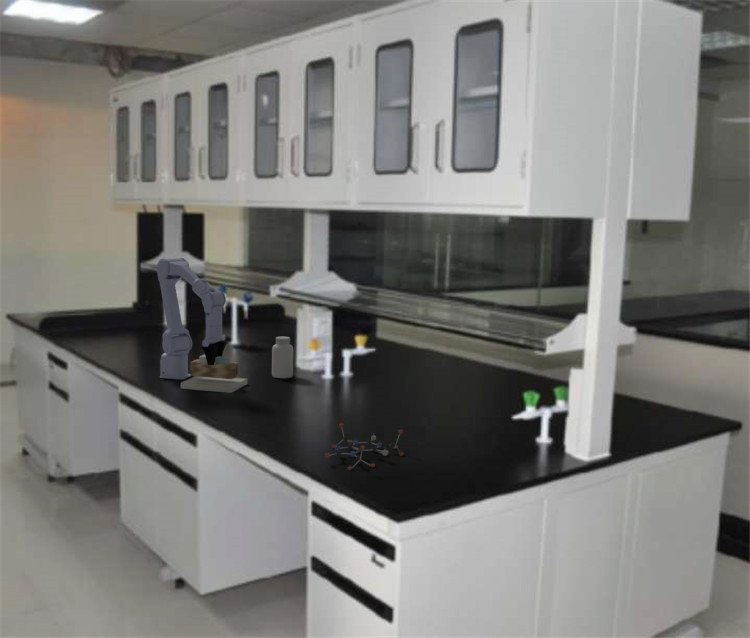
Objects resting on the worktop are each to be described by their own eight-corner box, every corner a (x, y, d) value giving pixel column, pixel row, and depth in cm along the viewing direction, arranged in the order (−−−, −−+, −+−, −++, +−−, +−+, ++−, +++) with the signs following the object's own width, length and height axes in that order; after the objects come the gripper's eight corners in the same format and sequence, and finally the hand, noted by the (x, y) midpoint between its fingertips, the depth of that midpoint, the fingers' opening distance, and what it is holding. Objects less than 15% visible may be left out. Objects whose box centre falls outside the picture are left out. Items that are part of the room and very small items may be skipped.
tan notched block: (190, 375, 285) (190, 361, 284) (196, 372, 290) (196, 359, 289) (232, 379, 281) (232, 365, 280) (238, 376, 286) (238, 362, 285)
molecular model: (417, 455, 214) (366, 438, 228) (418, 429, 213) (367, 414, 227) (350, 475, 198) (300, 455, 212) (350, 447, 197) (300, 429, 211)
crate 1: (199, 362, 284) (199, 356, 284) (204, 360, 288) (204, 354, 288) (209, 362, 283) (209, 357, 283) (213, 360, 287) (213, 355, 287)
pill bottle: (289, 379, 299) (289, 339, 297) (268, 378, 301) (269, 338, 299) (295, 375, 307) (296, 336, 305) (275, 373, 309) (275, 335, 306)
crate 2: (215, 363, 283) (215, 357, 282) (219, 361, 286) (219, 355, 286) (225, 364, 282) (225, 358, 282) (229, 362, 285) (229, 356, 285)
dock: (180, 388, 281) (180, 382, 281) (198, 380, 295) (198, 374, 295) (231, 392, 277) (231, 386, 277) (247, 384, 290) (247, 378, 290)
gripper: (215, 329, 275) (215, 368, 277) (233, 323, 289) (233, 360, 291) (196, 327, 276) (197, 366, 278) (214, 321, 290) (215, 358, 292)
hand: (214, 363), depth 285 cm, fingers closed on tan notched block, 5 cm apart
